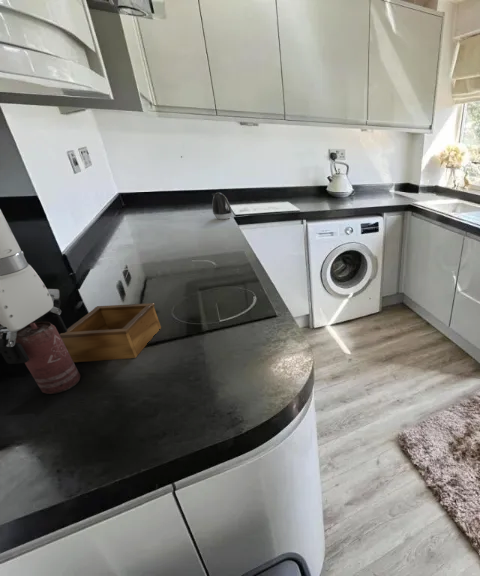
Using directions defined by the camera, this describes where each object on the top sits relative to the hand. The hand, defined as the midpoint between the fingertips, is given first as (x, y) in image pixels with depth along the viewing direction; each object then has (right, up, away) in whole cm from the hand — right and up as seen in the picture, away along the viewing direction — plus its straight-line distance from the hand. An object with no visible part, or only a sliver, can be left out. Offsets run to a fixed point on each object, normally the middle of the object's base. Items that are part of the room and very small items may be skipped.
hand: (40, 346), depth 63 cm
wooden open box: (+2, -2, +17) cm, 18 cm away
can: (0, -9, +4) cm, 10 cm away
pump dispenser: (-29, +53, +130) cm, 144 cm away
